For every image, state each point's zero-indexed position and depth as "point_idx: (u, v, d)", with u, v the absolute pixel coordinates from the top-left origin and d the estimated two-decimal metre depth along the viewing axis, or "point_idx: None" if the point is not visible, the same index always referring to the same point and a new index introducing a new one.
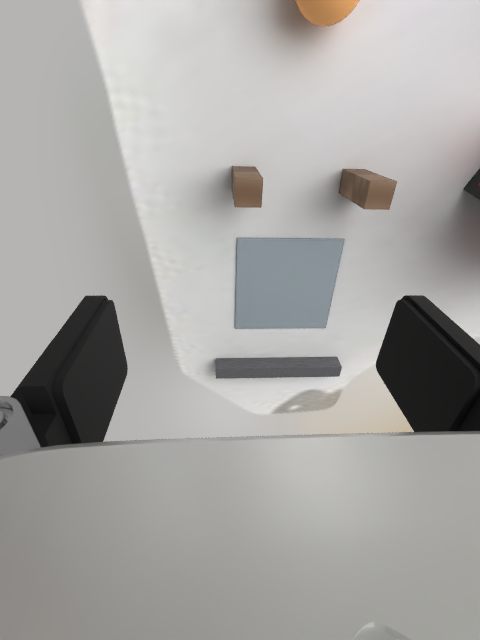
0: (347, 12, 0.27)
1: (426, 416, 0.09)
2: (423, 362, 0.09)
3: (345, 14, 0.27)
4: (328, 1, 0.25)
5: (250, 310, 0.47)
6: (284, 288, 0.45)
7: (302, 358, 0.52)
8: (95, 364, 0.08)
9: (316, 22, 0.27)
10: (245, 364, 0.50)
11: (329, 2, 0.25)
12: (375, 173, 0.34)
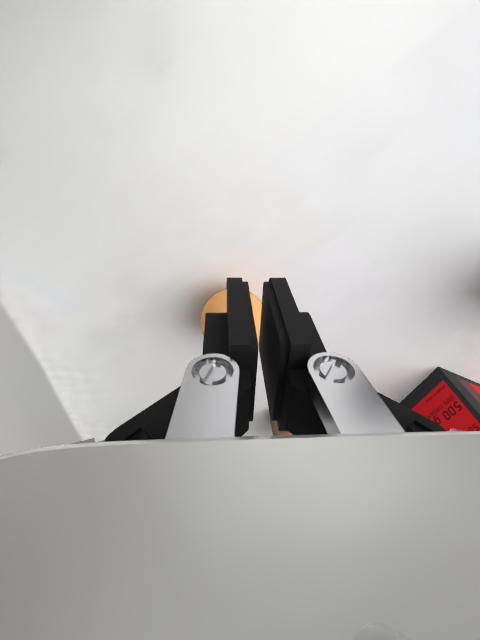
0: None
1: (270, 386, 0.10)
2: (269, 337, 0.10)
3: None
4: None
5: None
6: None
7: None
8: None
9: None
10: None
11: None
12: None
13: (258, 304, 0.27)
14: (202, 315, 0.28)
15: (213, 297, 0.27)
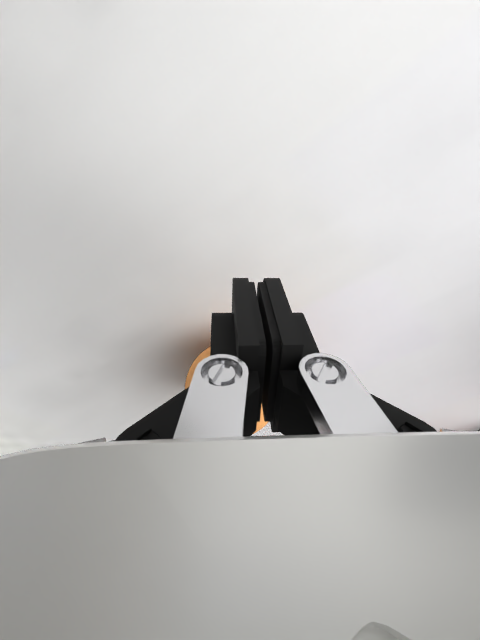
0: None
1: (263, 387, 0.10)
2: None
3: None
4: None
5: None
6: None
7: None
8: None
9: None
10: None
11: None
12: None
13: None
14: (187, 384, 0.19)
15: (202, 359, 0.19)
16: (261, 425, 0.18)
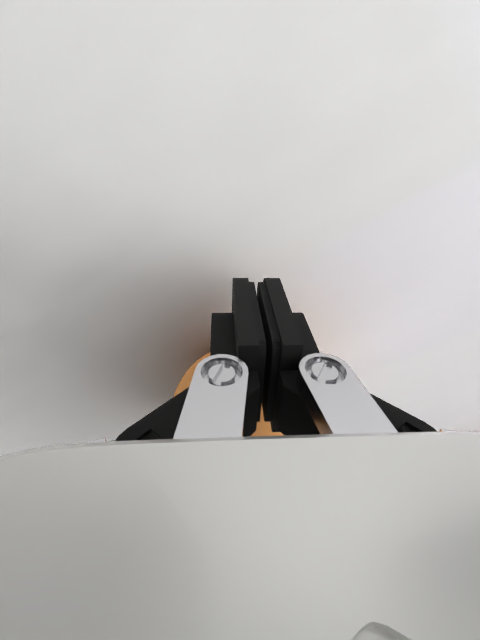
0: None
1: (263, 387, 0.10)
2: None
3: None
4: None
5: None
6: None
7: None
8: None
9: None
10: None
11: None
12: None
13: None
14: None
15: None
16: None
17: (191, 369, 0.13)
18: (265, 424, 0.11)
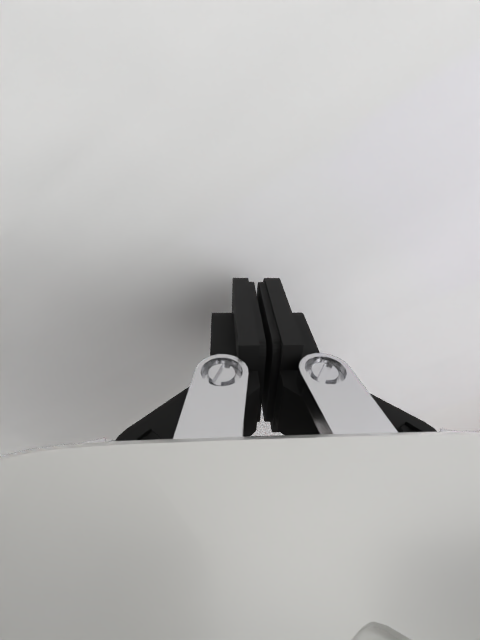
0: None
1: (263, 387, 0.10)
2: None
3: None
4: None
5: None
6: None
7: None
8: None
9: None
10: None
11: None
12: None
13: None
14: None
15: None
16: None
17: None
18: None
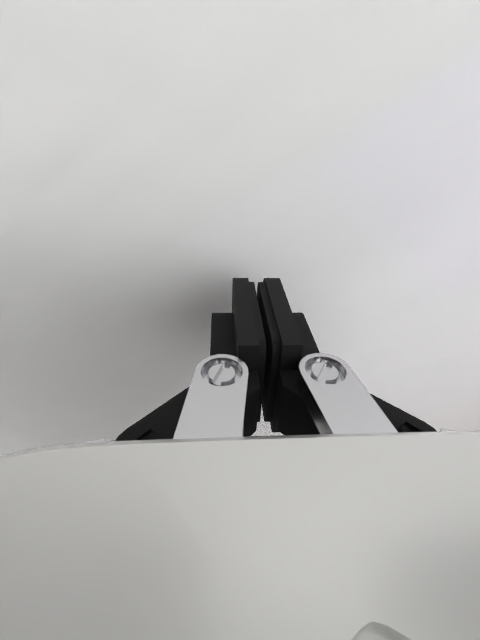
0: None
1: (263, 387, 0.10)
2: None
3: None
4: None
5: None
6: None
7: None
8: None
9: None
10: None
11: None
12: None
13: None
14: None
15: None
16: None
17: None
18: None
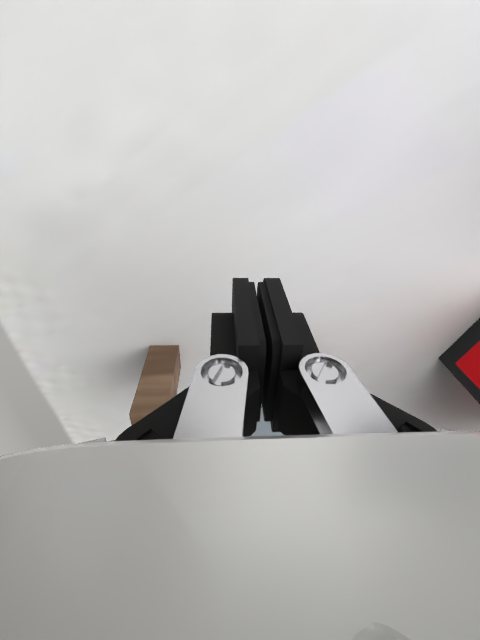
0: None
1: (263, 387, 0.10)
2: None
3: None
4: None
5: None
6: None
7: None
8: None
9: None
10: None
11: None
12: None
13: None
14: None
15: None
16: None
17: None
18: None
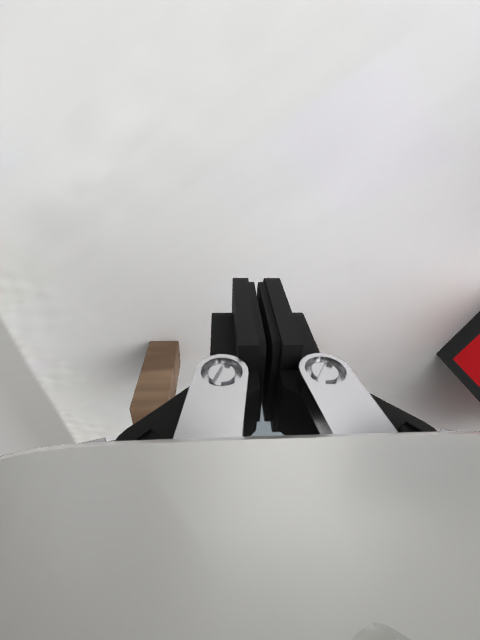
0: None
1: (263, 387, 0.10)
2: None
3: None
4: None
5: None
6: None
7: None
8: None
9: None
10: None
11: None
12: None
13: None
14: None
15: None
16: None
17: None
18: None
